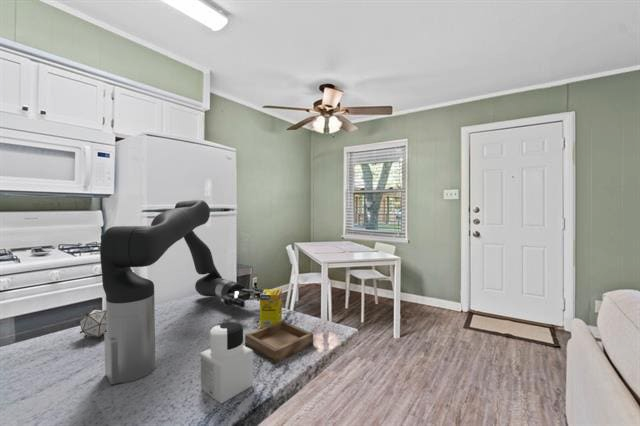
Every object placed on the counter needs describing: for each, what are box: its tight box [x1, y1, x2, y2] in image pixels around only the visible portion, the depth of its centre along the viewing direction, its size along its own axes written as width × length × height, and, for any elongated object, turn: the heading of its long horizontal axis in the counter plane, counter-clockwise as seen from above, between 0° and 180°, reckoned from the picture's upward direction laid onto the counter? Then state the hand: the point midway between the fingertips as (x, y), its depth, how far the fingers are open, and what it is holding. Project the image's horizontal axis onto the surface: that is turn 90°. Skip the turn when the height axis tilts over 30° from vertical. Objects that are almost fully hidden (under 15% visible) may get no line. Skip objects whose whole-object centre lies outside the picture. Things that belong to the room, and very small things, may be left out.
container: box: [200, 321, 254, 404], centre depth 61 cm, size 8×8×13 cm
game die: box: [76, 306, 107, 340], centre depth 85 cm, size 9×8×10 cm
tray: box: [244, 320, 314, 364], centre depth 79 cm, size 13×13×3 cm
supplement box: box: [259, 289, 283, 329], centre depth 92 cm, size 6×6×11 cm
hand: (255, 301), depth 98 cm, fingers open, 8 cm apart
